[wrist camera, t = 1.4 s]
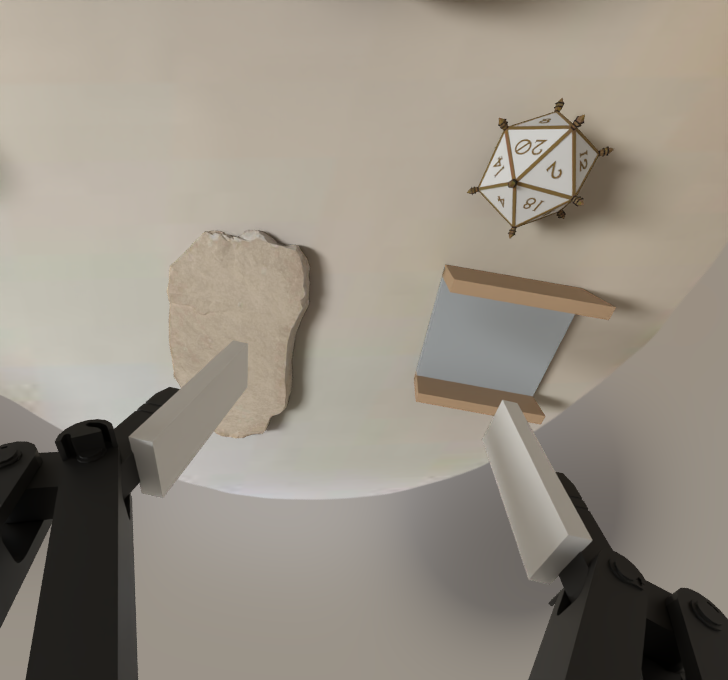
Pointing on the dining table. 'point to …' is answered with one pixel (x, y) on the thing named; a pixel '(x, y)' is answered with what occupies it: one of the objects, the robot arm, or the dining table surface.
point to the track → (496, 339)
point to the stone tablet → (239, 317)
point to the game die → (538, 168)
